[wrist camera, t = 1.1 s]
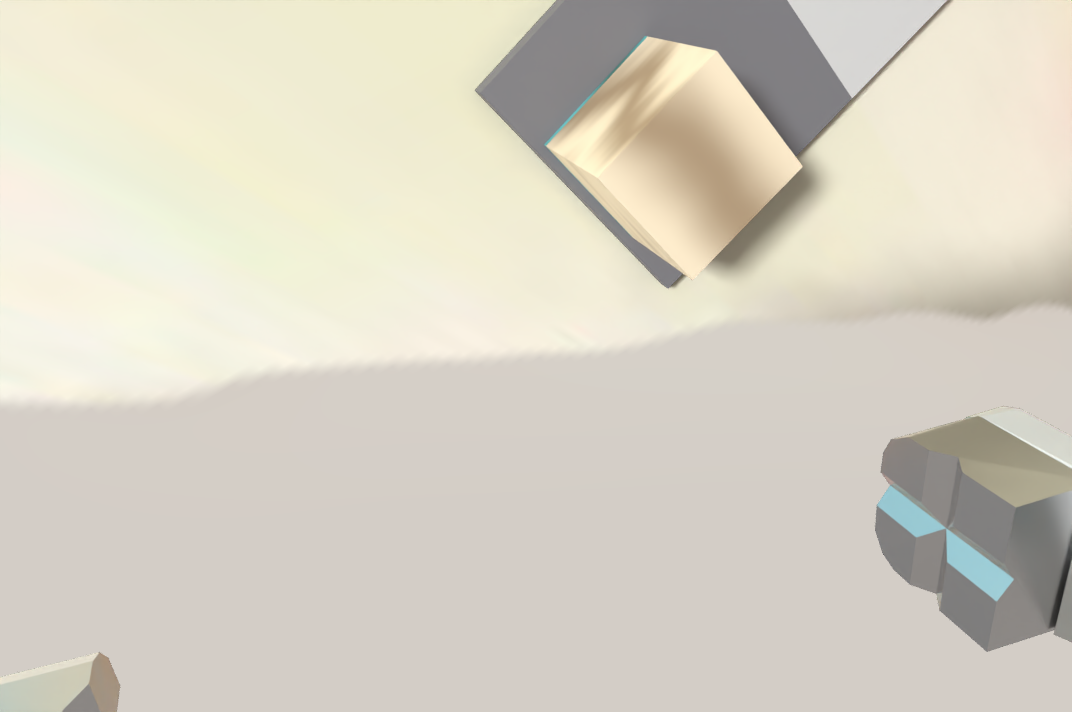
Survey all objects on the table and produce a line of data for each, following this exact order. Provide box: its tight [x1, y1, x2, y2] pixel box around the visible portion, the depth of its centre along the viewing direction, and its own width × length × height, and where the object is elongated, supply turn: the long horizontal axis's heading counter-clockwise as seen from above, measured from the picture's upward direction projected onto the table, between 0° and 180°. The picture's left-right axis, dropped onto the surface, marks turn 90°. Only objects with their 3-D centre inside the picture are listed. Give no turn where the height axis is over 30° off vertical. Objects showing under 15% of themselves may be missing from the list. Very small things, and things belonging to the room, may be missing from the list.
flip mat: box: [475, 0, 947, 288], centre depth 43 cm, size 26×15×1 cm, turn 134°
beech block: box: [544, 36, 803, 280], centre depth 40 cm, size 7×7×7 cm
